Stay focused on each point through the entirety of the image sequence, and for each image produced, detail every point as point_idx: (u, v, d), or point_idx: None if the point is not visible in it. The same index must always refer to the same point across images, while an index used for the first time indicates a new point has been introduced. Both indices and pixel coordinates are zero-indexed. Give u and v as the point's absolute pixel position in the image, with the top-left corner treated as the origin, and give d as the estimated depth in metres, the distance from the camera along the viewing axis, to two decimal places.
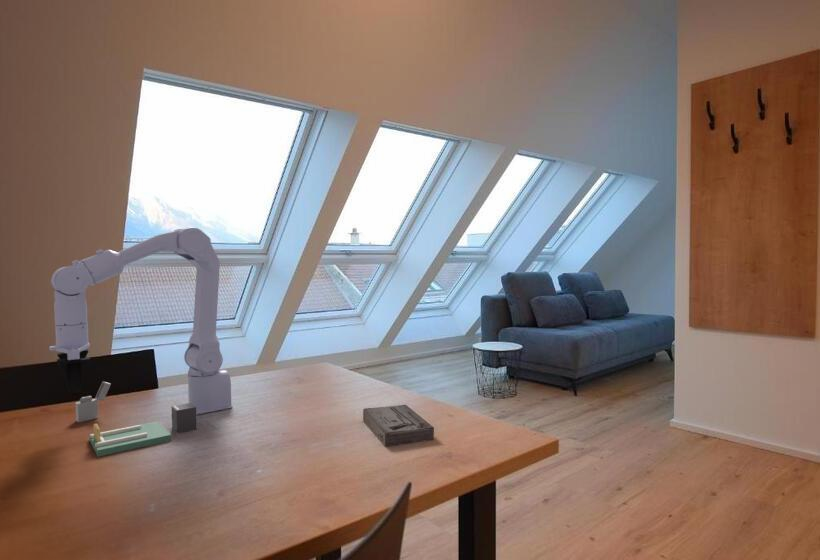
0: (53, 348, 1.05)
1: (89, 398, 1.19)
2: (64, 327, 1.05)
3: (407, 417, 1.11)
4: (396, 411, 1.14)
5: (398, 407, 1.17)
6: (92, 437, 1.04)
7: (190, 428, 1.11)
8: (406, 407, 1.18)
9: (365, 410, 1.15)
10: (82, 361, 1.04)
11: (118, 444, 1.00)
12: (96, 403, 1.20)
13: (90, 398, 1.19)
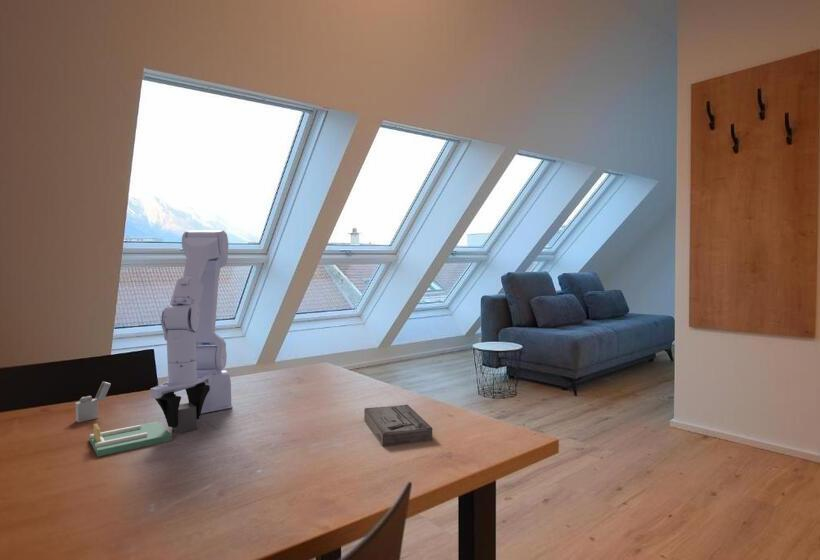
0: (167, 381, 1.12)
1: (89, 398, 1.19)
2: (168, 363, 1.10)
3: (407, 417, 1.11)
4: (397, 411, 1.14)
5: (399, 407, 1.17)
6: (92, 437, 1.04)
7: (190, 428, 1.11)
8: (407, 407, 1.18)
9: (366, 410, 1.16)
10: (167, 400, 1.06)
11: (118, 444, 1.00)
12: (96, 403, 1.20)
13: (90, 398, 1.19)
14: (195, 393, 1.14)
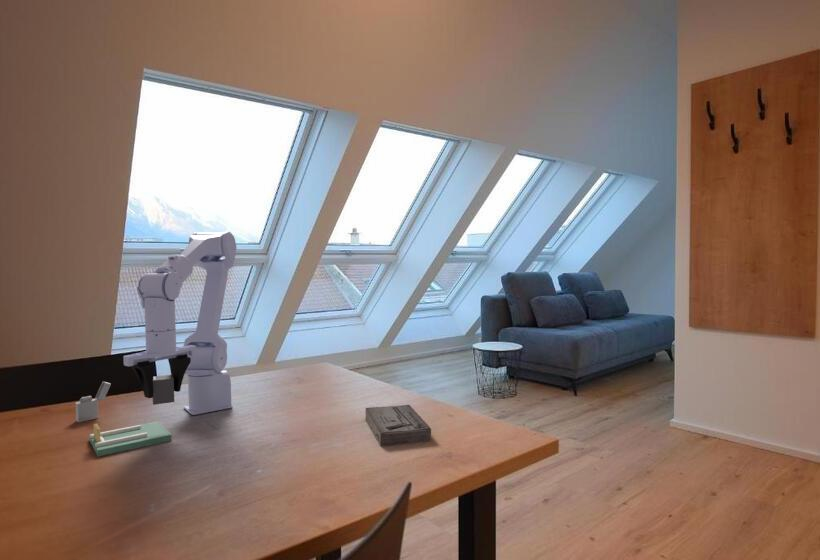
0: None
1: (89, 398, 1.19)
2: None
3: (407, 417, 1.11)
4: (397, 411, 1.14)
5: (400, 407, 1.17)
6: (92, 437, 1.04)
7: (167, 400, 1.08)
8: (408, 407, 1.17)
9: (367, 409, 1.16)
10: (140, 368, 1.04)
11: (118, 444, 1.00)
12: (96, 403, 1.20)
13: (90, 398, 1.19)
14: (175, 365, 1.11)
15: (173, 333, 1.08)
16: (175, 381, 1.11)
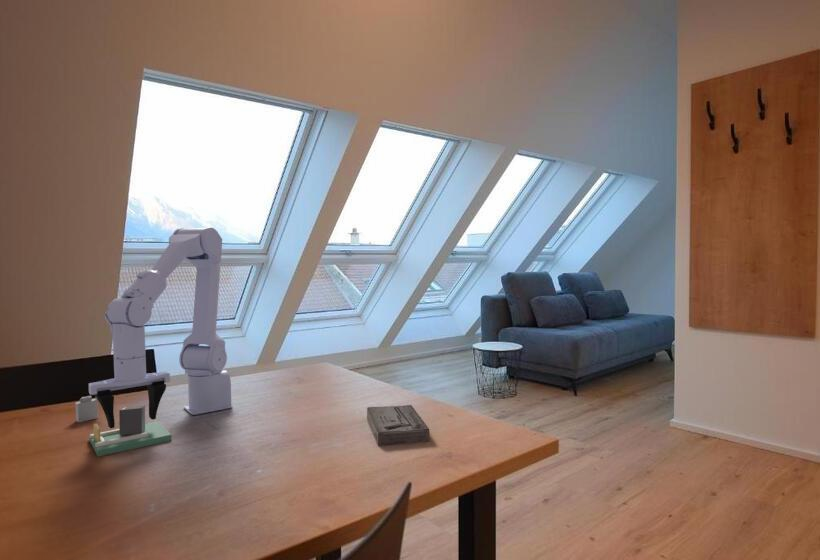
0: None
1: (89, 398, 1.19)
2: None
3: (407, 417, 1.10)
4: (398, 411, 1.14)
5: (402, 407, 1.17)
6: (92, 437, 1.04)
7: (134, 431, 1.04)
8: (410, 407, 1.17)
9: (368, 409, 1.16)
10: (98, 398, 1.00)
11: (118, 444, 1.00)
12: (96, 403, 1.20)
13: (90, 398, 1.19)
14: (151, 391, 1.08)
15: (141, 360, 1.04)
16: (151, 408, 1.08)
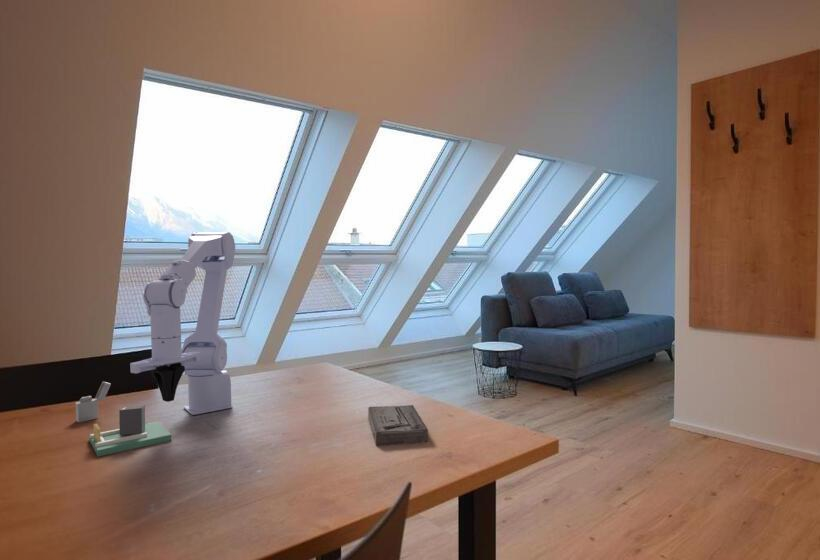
0: None
1: (89, 398, 1.19)
2: (151, 339, 1.08)
3: (407, 418, 1.10)
4: (399, 411, 1.14)
5: (403, 407, 1.17)
6: (92, 437, 1.04)
7: (134, 431, 1.04)
8: (411, 408, 1.17)
9: (369, 408, 1.17)
10: (159, 373, 1.07)
11: (118, 444, 1.00)
12: (96, 403, 1.20)
13: (90, 398, 1.19)
14: None
15: (179, 340, 1.09)
16: None
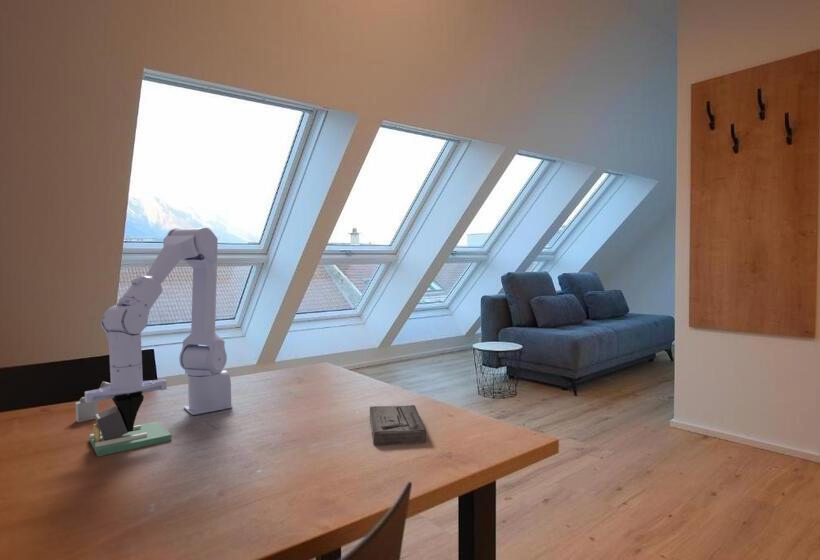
0: None
1: None
2: None
3: (406, 418, 1.10)
4: (400, 411, 1.14)
5: (404, 407, 1.17)
6: (92, 437, 1.04)
7: (120, 433, 1.02)
8: (412, 408, 1.17)
9: (371, 408, 1.17)
10: (116, 402, 1.02)
11: (118, 444, 1.00)
12: (96, 403, 1.20)
13: None
14: None
15: (137, 368, 1.04)
16: None
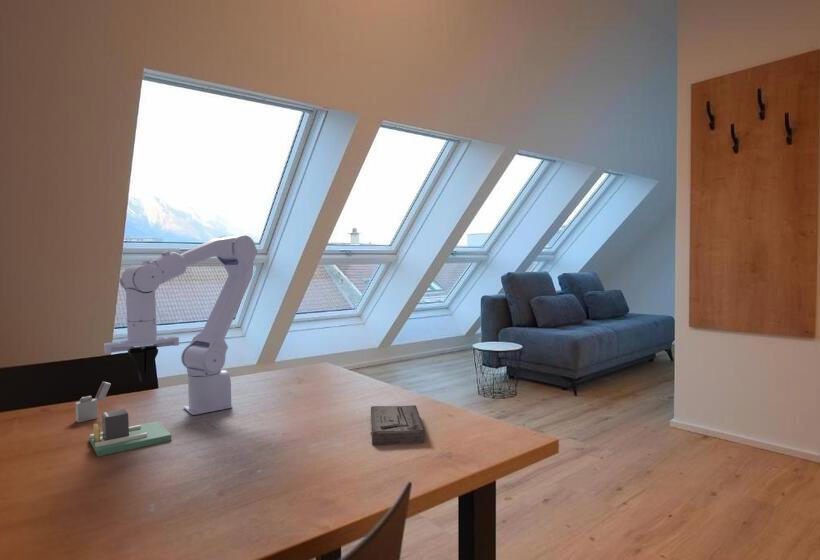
0: None
1: (89, 398, 1.19)
2: None
3: (406, 418, 1.10)
4: (400, 411, 1.14)
5: (405, 407, 1.17)
6: (92, 437, 1.04)
7: (121, 436, 1.03)
8: (413, 408, 1.17)
9: (372, 408, 1.17)
10: (131, 354, 1.11)
11: (118, 444, 1.00)
12: (96, 403, 1.20)
13: (90, 398, 1.19)
14: (144, 356, 1.14)
15: (151, 324, 1.12)
16: None
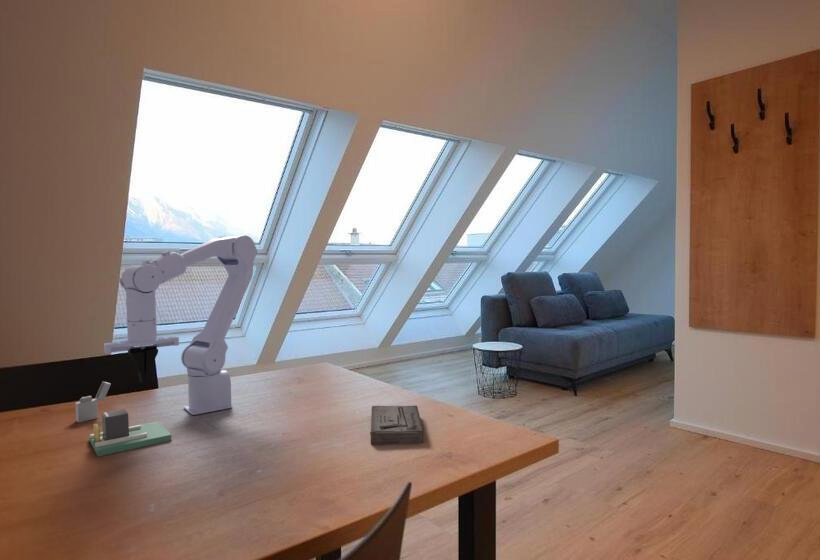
0: None
1: (89, 398, 1.19)
2: None
3: (406, 418, 1.10)
4: (401, 411, 1.14)
5: (406, 407, 1.17)
6: (92, 437, 1.04)
7: (121, 436, 1.03)
8: (414, 408, 1.17)
9: (372, 407, 1.17)
10: (131, 354, 1.11)
11: (118, 444, 1.00)
12: (96, 403, 1.20)
13: (90, 398, 1.19)
14: (144, 355, 1.14)
15: (151, 324, 1.12)
16: None
